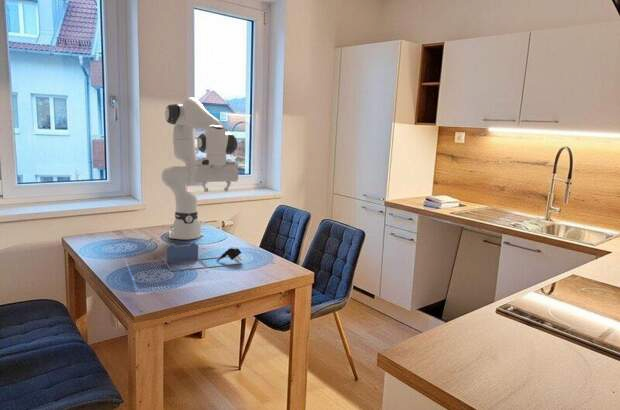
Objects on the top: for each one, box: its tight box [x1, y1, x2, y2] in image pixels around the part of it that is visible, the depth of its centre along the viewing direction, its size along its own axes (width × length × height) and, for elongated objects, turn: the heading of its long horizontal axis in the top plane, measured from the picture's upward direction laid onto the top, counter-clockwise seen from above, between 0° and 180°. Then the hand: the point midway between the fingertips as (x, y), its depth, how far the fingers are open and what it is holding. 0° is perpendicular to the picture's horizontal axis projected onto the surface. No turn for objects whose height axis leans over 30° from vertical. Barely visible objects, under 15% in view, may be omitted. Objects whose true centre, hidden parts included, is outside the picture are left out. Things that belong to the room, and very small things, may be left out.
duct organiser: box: [164, 241, 243, 272], centre depth 202 cm, size 15×32×8 cm, turn 118°
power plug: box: [216, 246, 243, 263], centre depth 204 cm, size 6×8×12 cm
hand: (216, 191), depth 204 cm, fingers open, 8 cm apart
